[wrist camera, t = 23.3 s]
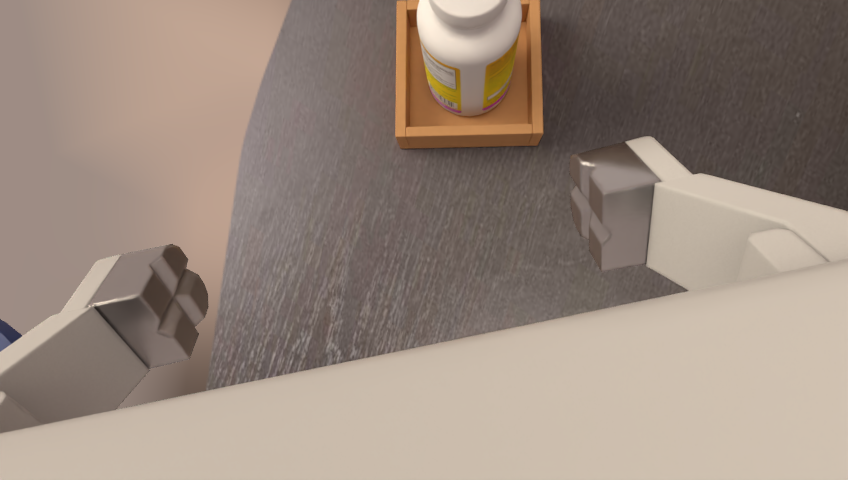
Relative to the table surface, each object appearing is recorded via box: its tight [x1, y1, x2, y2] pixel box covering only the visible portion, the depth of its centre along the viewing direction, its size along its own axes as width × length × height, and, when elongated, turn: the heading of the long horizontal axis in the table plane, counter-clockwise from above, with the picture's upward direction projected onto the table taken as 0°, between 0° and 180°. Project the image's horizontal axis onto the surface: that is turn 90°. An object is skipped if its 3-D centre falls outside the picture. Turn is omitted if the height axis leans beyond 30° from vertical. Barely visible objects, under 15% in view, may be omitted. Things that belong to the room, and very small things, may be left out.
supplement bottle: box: [417, 0, 522, 116], centre depth 34 cm, size 7×7×13 cm
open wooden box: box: [395, 0, 543, 149], centre depth 39 cm, size 11×11×3 cm
